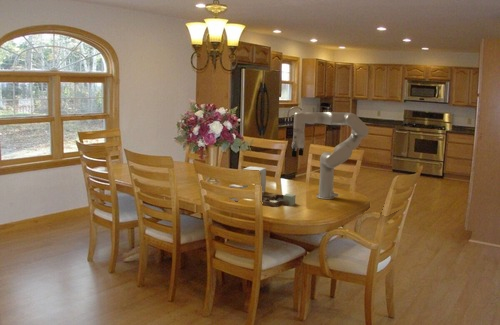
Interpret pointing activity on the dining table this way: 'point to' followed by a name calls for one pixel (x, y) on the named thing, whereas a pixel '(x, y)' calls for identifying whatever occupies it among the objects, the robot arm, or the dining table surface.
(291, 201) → the block
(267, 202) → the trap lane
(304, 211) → the dining table surface
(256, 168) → the supplement box
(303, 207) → the dining table surface
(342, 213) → the dining table surface
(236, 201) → the ink box
